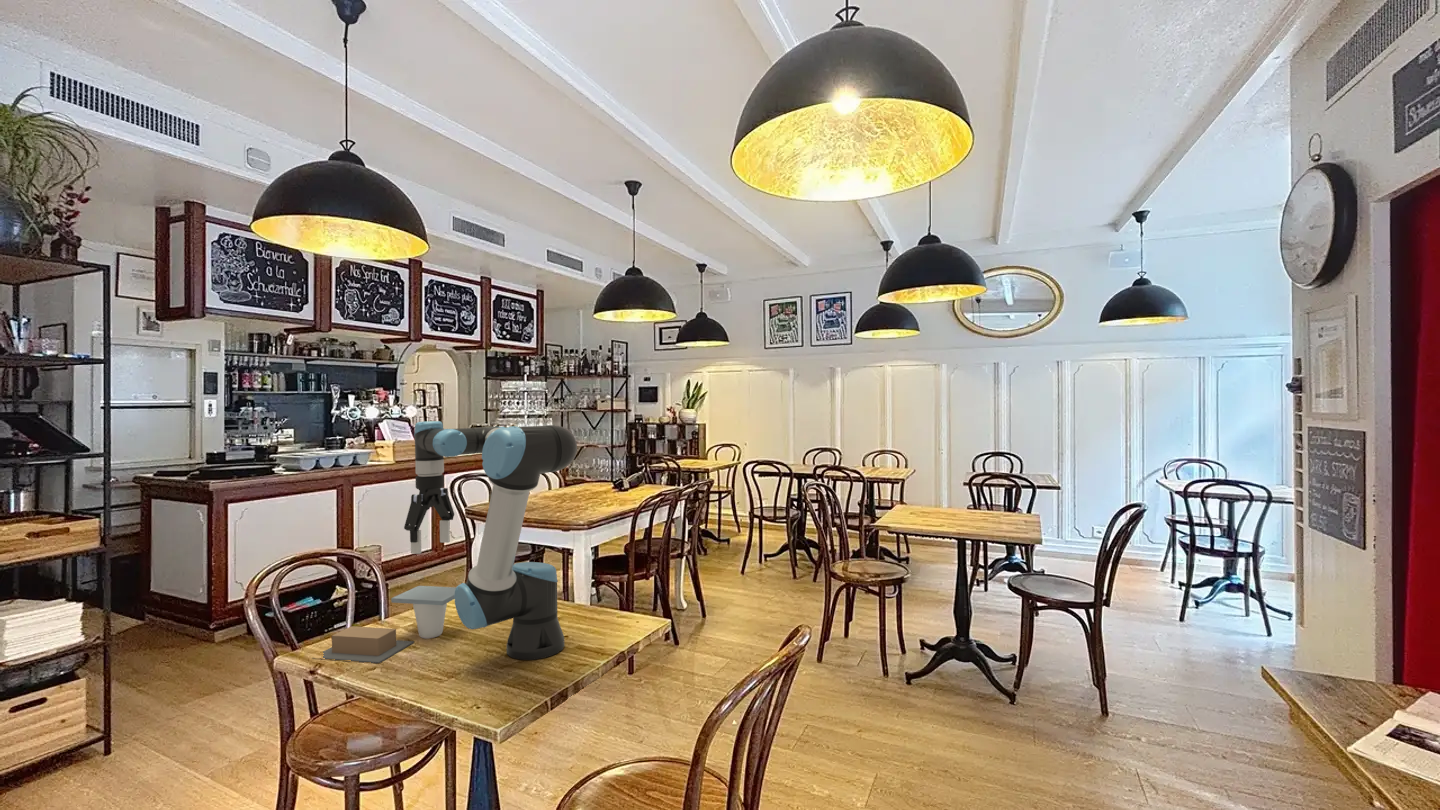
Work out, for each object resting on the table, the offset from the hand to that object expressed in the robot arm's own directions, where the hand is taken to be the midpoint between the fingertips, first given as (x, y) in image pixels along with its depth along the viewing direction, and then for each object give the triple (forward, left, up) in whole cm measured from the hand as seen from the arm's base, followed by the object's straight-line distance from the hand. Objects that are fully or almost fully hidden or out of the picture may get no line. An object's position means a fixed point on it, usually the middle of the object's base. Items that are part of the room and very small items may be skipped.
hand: (431, 547), depth 183 cm
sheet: (0, +1, -14) cm, 14 cm away
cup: (0, +1, -25) cm, 25 cm away
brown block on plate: (+11, +14, -25) cm, 31 cm away
